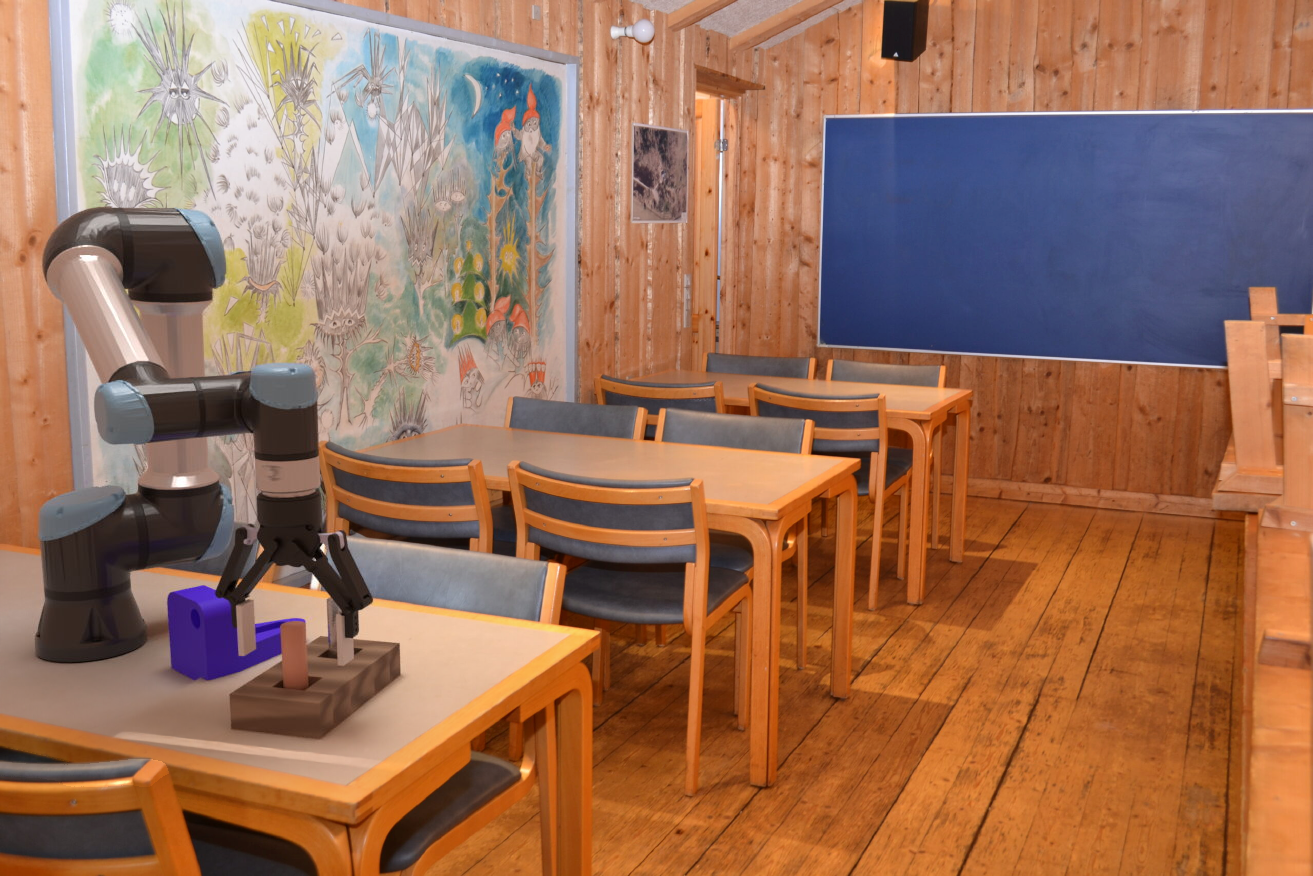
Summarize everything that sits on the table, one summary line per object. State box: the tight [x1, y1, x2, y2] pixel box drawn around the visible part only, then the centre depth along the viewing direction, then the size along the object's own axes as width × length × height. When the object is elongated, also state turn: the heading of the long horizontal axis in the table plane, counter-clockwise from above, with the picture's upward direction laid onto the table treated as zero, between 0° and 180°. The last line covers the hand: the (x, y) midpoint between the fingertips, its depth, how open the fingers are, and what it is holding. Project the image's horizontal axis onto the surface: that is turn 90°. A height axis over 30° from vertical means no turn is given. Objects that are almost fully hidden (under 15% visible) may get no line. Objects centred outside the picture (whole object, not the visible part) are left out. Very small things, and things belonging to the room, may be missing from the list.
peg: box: [280, 621, 309, 690], centre depth 146 cm, size 3×3×12 cm
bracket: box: [166, 584, 307, 682], centre depth 168 cm, size 18×11×12 cm, turn 138°
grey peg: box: [326, 596, 341, 659], centre depth 156 cm, size 3×3×12 cm
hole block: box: [229, 635, 401, 740], centre depth 152 cm, size 22×12×6 cm, turn 167°
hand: (296, 657), depth 145 cm, fingers open, 13 cm apart
